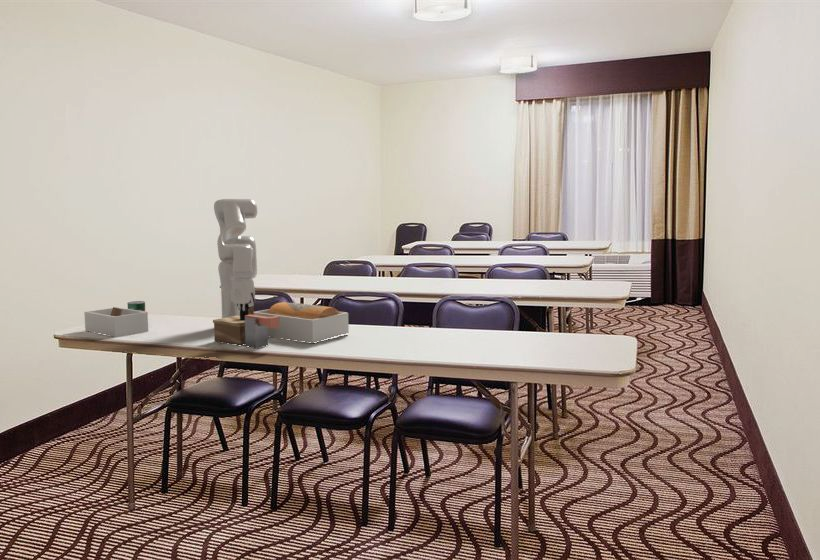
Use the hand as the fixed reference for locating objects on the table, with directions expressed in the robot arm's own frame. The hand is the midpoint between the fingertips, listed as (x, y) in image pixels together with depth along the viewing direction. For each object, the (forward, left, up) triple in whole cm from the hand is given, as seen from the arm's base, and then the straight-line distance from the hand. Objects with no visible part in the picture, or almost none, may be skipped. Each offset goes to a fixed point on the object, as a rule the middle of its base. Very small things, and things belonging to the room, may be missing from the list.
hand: (244, 319), depth 279 cm
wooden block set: (+12, -70, -11) cm, 72 cm away
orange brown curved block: (-28, +7, -11) cm, 31 cm away
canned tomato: (-1, -76, -10) cm, 77 cm away
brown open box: (-4, -7, -10) cm, 13 cm away
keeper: (0, +7, -10) cm, 12 cm away
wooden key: (0, +10, -1) cm, 10 cm away
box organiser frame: (-28, +5, -10) cm, 30 cm away
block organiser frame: (+14, -69, -10) cm, 71 cm away
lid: (-4, -7, -2) cm, 8 cm away
